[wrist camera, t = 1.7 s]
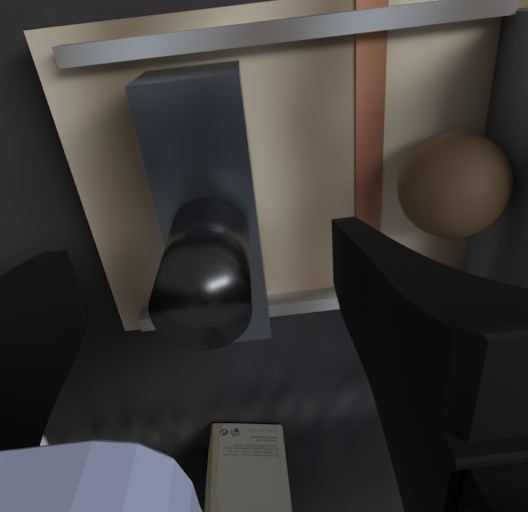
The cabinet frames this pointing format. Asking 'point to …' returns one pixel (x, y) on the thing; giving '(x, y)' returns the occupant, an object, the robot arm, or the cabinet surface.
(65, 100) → the press
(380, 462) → the cabinet surface
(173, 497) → the robot arm
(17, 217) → the cabinet surface
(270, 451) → the skincare box
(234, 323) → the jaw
